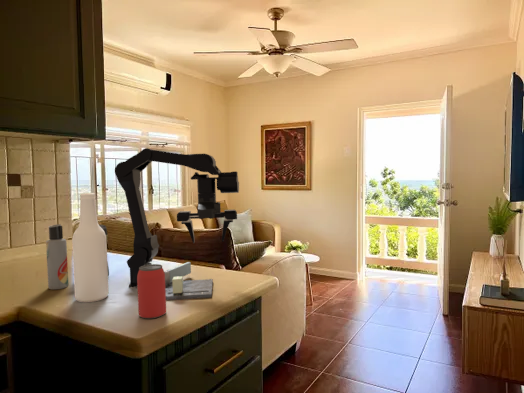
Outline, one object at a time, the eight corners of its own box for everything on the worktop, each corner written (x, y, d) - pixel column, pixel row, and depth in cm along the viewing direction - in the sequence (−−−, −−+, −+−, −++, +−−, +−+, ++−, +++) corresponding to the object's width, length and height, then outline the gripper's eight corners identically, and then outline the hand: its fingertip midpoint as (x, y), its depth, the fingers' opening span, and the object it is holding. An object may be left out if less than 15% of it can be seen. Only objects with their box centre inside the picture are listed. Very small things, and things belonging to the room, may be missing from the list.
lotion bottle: (72, 285, 122) (69, 223, 121) (57, 290, 116) (54, 226, 116) (59, 284, 124) (56, 223, 123) (44, 288, 118) (40, 225, 117)
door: (167, 284, 115) (167, 272, 115) (162, 283, 116) (162, 271, 116) (191, 273, 128) (191, 262, 128) (187, 273, 129) (186, 262, 129)
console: (156, 300, 104) (156, 296, 104) (165, 284, 120) (165, 281, 120) (211, 297, 105) (211, 293, 105) (212, 282, 121) (212, 278, 121)
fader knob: (172, 293, 106) (172, 279, 105) (174, 290, 109) (173, 276, 108) (181, 293, 106) (181, 278, 106) (183, 289, 109) (182, 275, 109)
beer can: (142, 310, 96) (140, 264, 95) (168, 309, 96) (166, 263, 96) (135, 320, 89) (133, 270, 89) (163, 318, 90) (162, 269, 89)
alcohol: (67, 301, 105) (62, 194, 104) (92, 292, 113) (87, 192, 112) (92, 304, 102) (87, 193, 101) (115, 294, 110) (111, 192, 109)
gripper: (173, 195, 111) (175, 248, 111) (237, 193, 113) (238, 245, 113) (178, 194, 122) (179, 242, 122) (235, 192, 124) (237, 239, 124)
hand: (208, 242), depth 120 cm, fingers open, 9 cm apart
